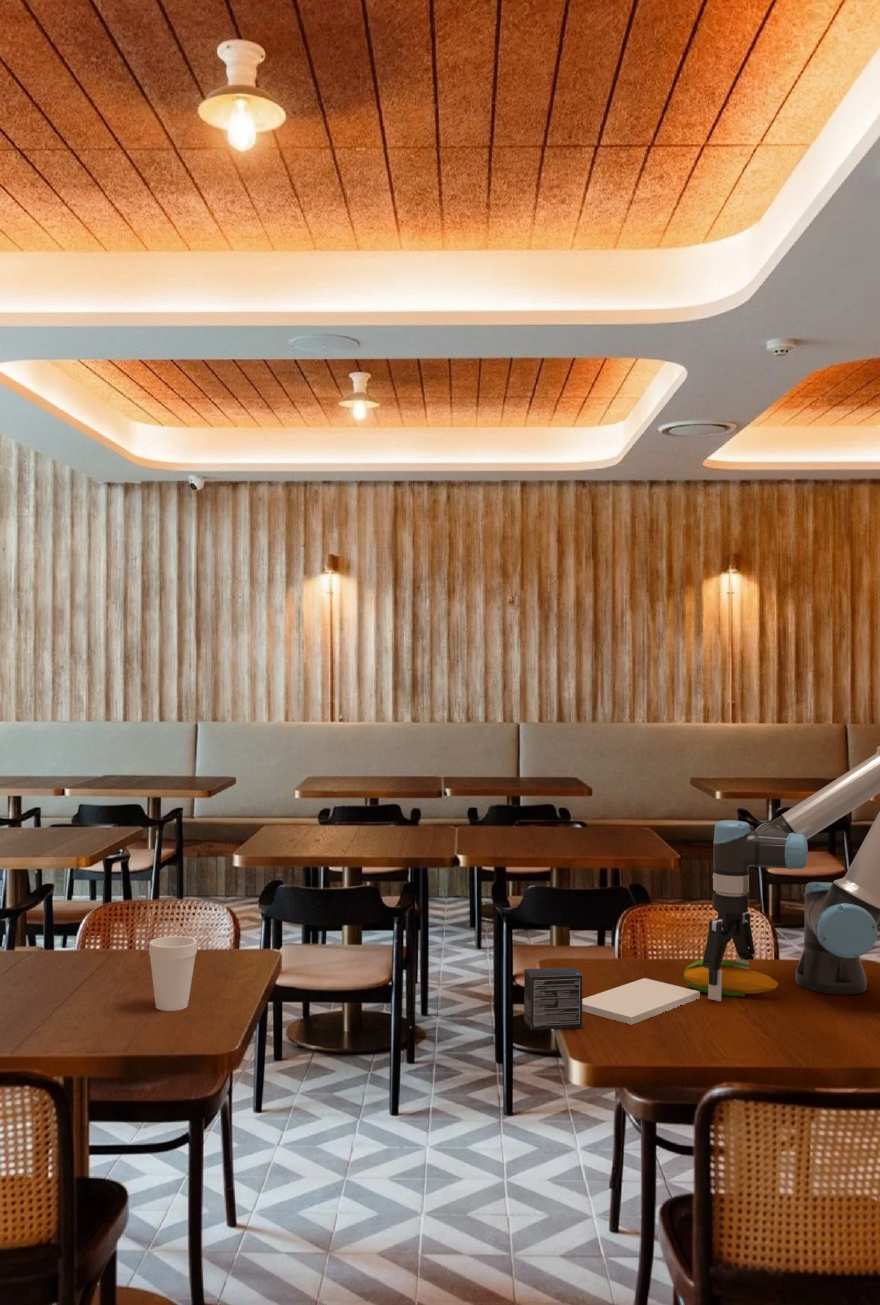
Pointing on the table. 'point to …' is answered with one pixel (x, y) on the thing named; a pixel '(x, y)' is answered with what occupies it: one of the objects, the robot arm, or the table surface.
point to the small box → (553, 998)
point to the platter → (638, 1000)
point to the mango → (730, 979)
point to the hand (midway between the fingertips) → (728, 994)
